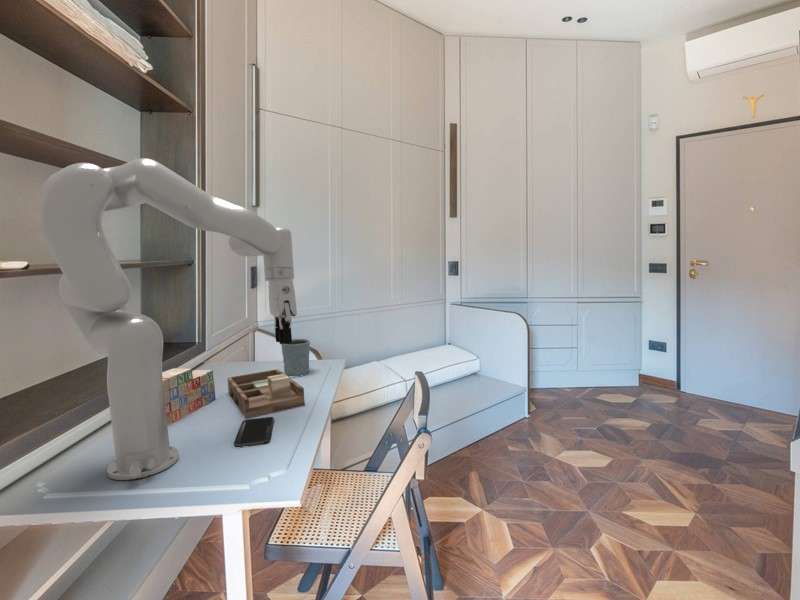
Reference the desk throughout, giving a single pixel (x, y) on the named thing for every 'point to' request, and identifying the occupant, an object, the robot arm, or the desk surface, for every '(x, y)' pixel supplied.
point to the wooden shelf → (262, 394)
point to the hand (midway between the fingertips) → (283, 341)
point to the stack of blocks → (186, 391)
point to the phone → (254, 432)
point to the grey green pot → (296, 357)
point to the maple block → (279, 385)
